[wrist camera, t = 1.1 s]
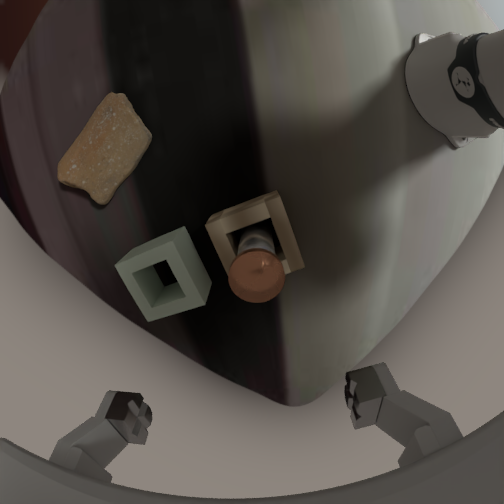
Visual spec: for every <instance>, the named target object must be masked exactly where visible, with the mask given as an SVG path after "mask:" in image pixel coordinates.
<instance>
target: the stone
mask: <svg viewBox="0 0 504 504" xmlns="http://www.w3.org/2000/svg"><path fill="white" fill-rule="evenodd" d="M151 140H152V134H151V133H150V132H149V130H148V129H147V128H146V127H145V125H144V123H143V122H142V120H141V119H140V117H139V116H137V114H136V113H135V112H134V109H133V107H132V105H131V103H130V102H129V101H128V99H127V97H126V95H125V94H123V93H119V94H114V93H113V92H112V93H109V94H108V95H107V96H106V97H105V98H104V100H103V101H102V102H101V103H100V104H99V106H98V107H97V109H96V110H95V112H94V113H93V115H92V116H91V118H90V119H89V121H88V122H87V124H86V126H85V127H84V129H83V130H82V132H81V133H80V135H79V136H78V137H77V138H76V140H75V141H74V142H73V144H72V145H71V147H70V148H69V150H68V151H67V152H66V153H65V155H64V156H63V157H62V159H61V160H60V162H59V163H58V179H59V181H60V182H61V183H63V184H65V185H68V186H70V187H74V188H80V189H84V190H85V191H87V192H88V193H89V194H90V195H91V198H92V199H93V200H94V201H95V202H97V203H98V204H100V205H105V204H107V203H108V202H109V201H110V199H111V198H112V197H113V195H114V193H115V191H116V190H117V188H118V187H119V186H120V185H121V184H122V183H123V181H124V180H125V179H126V178H127V177H128V176H129V175H130V174H131V173H132V172H133V171H134V169H135V168H136V167H137V165H138V163H139V161H140V160H141V158H142V156H143V154H144V153H145V151H146V150H147V148H148V146H149V144H150V142H151Z"/></svg>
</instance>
